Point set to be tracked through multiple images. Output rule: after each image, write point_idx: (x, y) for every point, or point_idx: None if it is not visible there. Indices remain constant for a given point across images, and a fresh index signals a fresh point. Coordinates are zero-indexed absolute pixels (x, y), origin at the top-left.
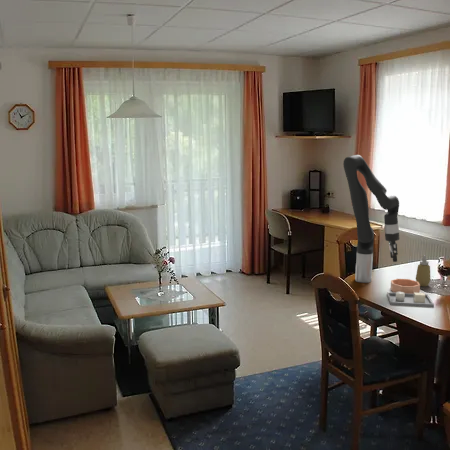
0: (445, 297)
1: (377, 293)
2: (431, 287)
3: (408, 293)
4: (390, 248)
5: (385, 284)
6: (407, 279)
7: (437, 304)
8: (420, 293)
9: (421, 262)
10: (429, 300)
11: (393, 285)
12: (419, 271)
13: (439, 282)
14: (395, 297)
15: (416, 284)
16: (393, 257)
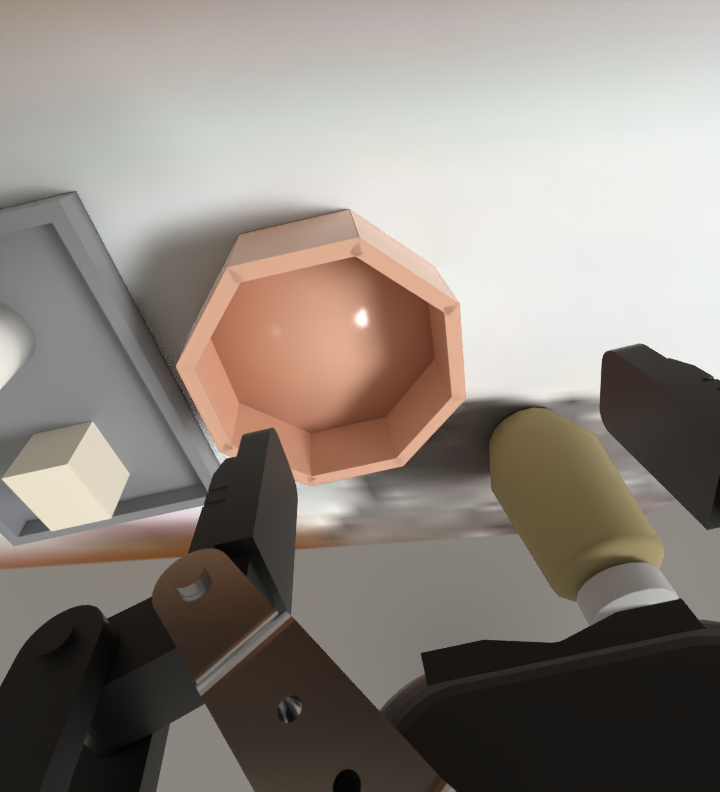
0: None
1: (99, 64)
2: (483, 481)
3: (164, 395)
4: (340, 751)
5: (502, 137)
6: (450, 390)
7: (123, 531)
8: (76, 503)
9: (607, 596)
10: None
11: (223, 273)
12: (548, 508)
13: None
14: (46, 288)
15: (388, 442)
16: (231, 513)
